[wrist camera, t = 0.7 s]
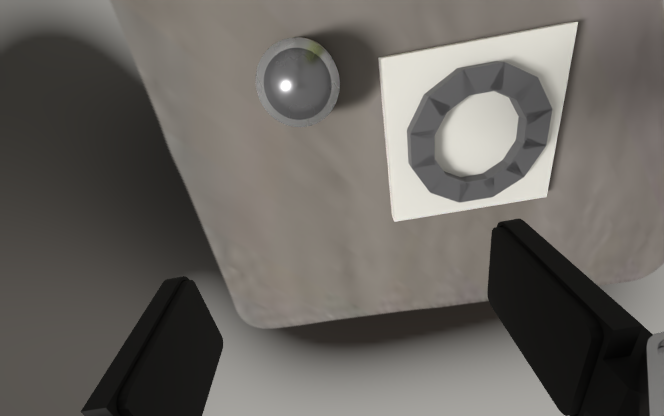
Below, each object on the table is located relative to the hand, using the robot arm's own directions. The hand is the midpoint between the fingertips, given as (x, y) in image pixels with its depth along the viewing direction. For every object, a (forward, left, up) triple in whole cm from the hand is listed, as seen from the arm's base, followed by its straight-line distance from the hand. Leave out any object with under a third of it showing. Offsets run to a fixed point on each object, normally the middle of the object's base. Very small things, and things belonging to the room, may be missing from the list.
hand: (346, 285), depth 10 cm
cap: (-4, -1, -21) cm, 21 cm away
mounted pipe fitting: (+3, +13, -21) cm, 24 cm away
